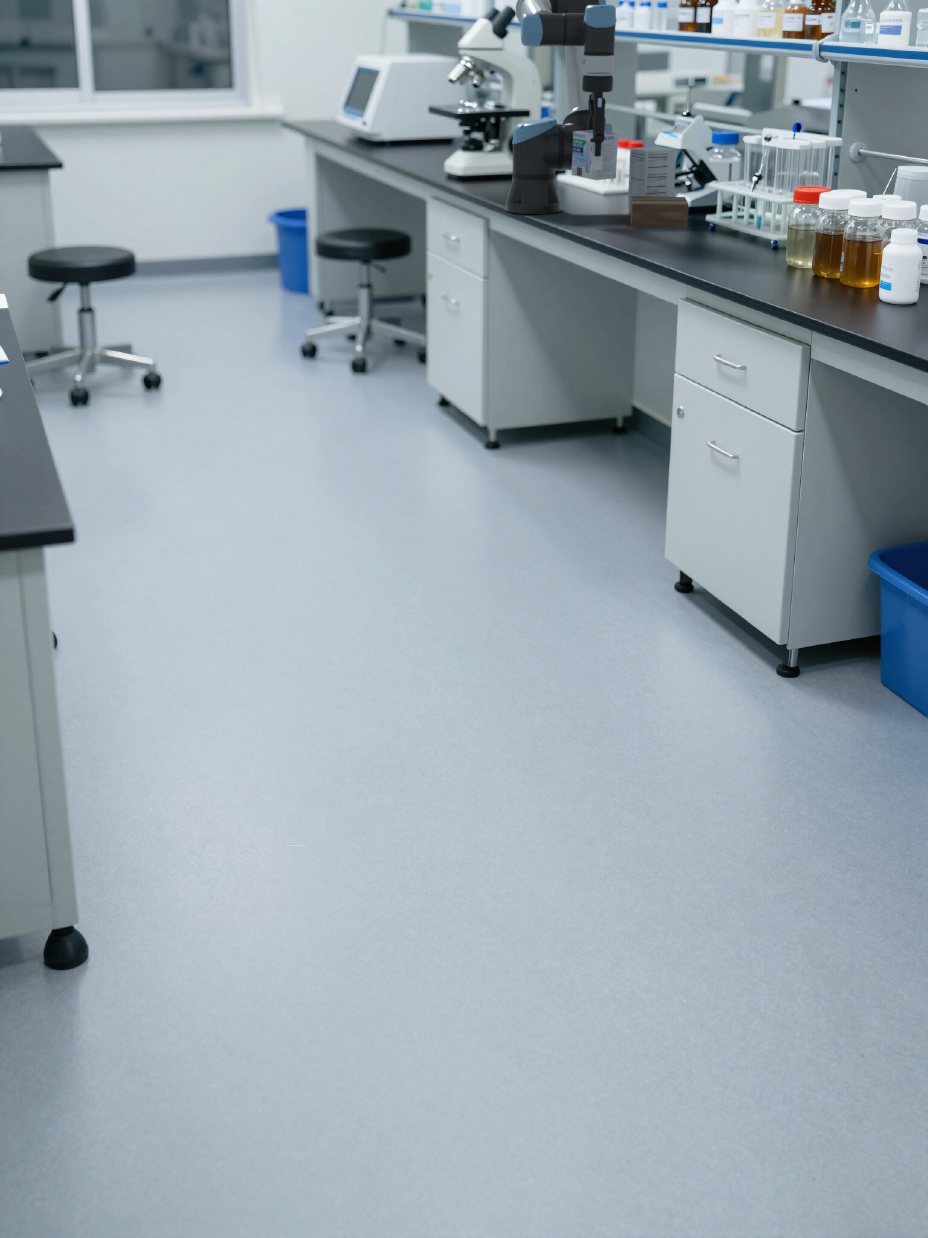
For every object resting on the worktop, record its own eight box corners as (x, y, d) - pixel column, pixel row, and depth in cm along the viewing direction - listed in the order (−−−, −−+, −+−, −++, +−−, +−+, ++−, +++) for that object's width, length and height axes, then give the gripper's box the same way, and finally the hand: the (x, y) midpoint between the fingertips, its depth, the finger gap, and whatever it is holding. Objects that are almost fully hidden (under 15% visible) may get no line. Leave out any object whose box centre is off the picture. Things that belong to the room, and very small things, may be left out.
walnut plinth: (629, 219, 334) (631, 196, 332) (683, 220, 333) (684, 196, 330) (631, 228, 322) (632, 203, 319) (686, 229, 321) (688, 204, 318)
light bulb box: (570, 175, 325) (572, 130, 320) (591, 173, 328) (593, 128, 323) (596, 180, 317) (598, 134, 312) (617, 178, 320) (619, 132, 315)
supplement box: (673, 215, 338) (678, 148, 331) (643, 217, 335) (647, 150, 328) (656, 211, 346) (660, 145, 339) (626, 213, 343) (629, 146, 336)
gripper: (578, 70, 323) (575, 160, 332) (587, 77, 301) (583, 172, 311) (607, 70, 323) (603, 160, 332) (618, 77, 301) (614, 172, 311)
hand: (594, 166), depth 321 cm, fingers closed on light bulb box, 12 cm apart
